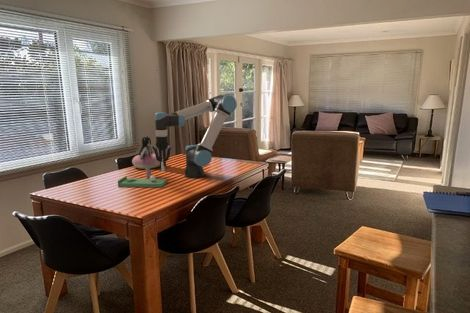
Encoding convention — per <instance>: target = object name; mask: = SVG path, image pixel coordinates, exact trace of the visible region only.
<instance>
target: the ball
mask: <svg viewBox="0 0 470 313" xmlns="http://www.w3.org/2000/svg"><path fill="white" fill-rule="evenodd" d="M149 179H150V180H151V181H155V180H156V179H157V178H156V175H154V174H152V176H150V177H149Z"/></svg>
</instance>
